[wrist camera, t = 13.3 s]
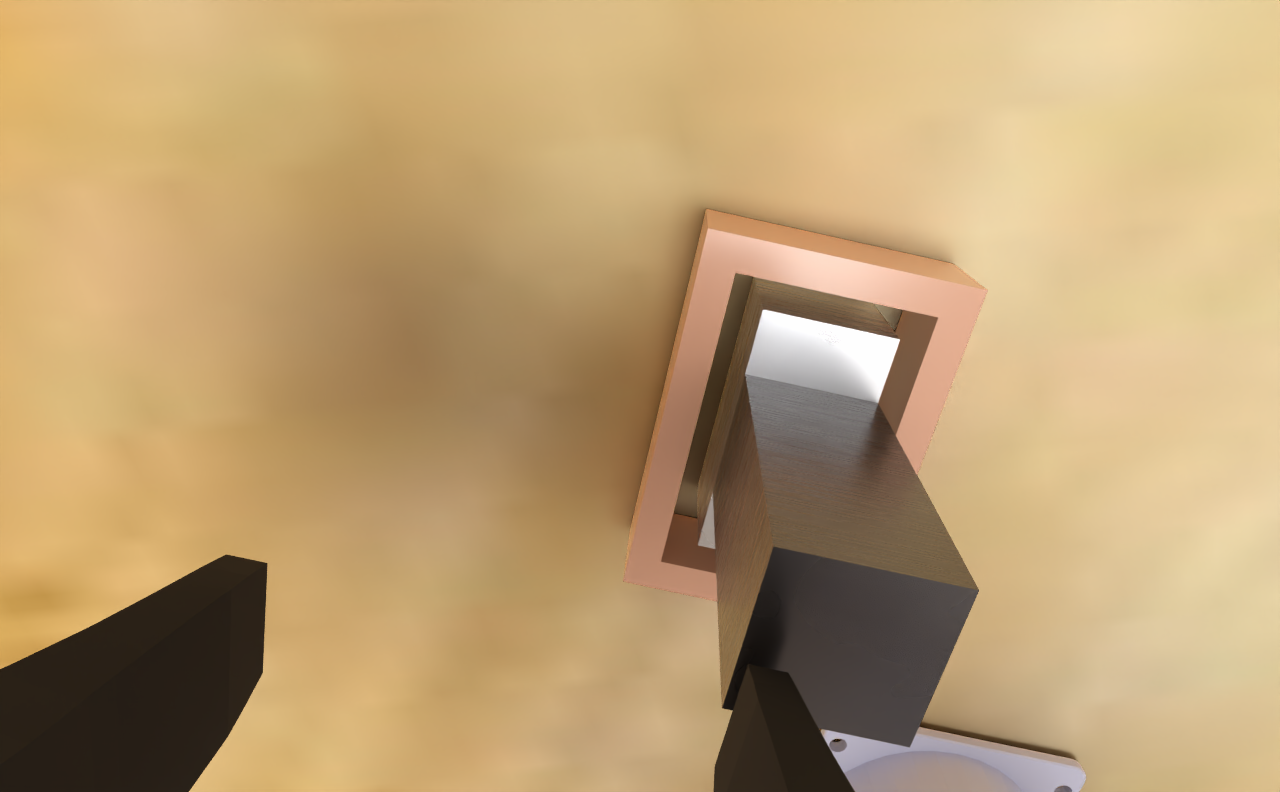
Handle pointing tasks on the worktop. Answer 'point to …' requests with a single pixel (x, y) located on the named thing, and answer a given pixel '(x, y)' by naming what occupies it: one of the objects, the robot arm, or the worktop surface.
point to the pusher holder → (728, 244)
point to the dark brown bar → (826, 521)
